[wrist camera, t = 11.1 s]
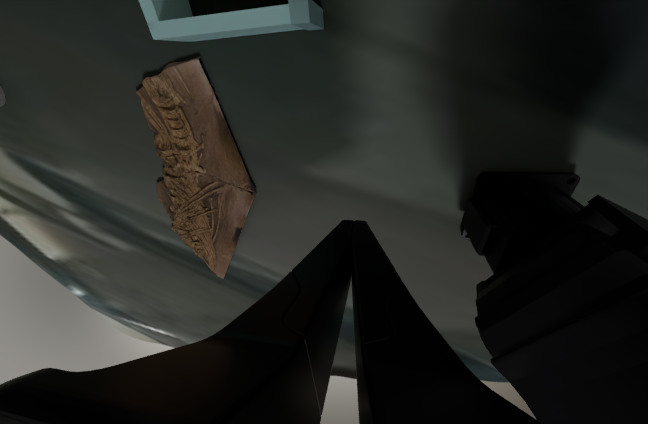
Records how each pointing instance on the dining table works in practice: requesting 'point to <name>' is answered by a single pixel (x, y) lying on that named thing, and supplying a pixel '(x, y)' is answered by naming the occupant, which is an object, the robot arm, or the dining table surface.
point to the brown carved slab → (197, 162)
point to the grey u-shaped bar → (227, 20)
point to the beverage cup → (2, 97)
